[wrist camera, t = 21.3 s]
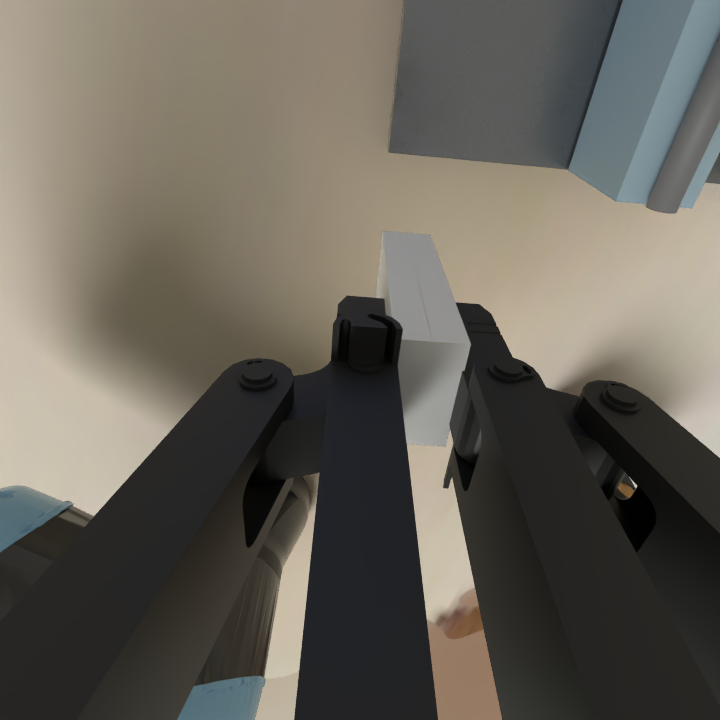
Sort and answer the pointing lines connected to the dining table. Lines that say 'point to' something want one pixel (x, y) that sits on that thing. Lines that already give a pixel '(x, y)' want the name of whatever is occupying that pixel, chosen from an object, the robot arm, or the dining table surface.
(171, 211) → the dining table surface
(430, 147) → the grey l-shaped bracket
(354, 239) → the dining table surface
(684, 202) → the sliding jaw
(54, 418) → the dining table surface
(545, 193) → the dining table surface
